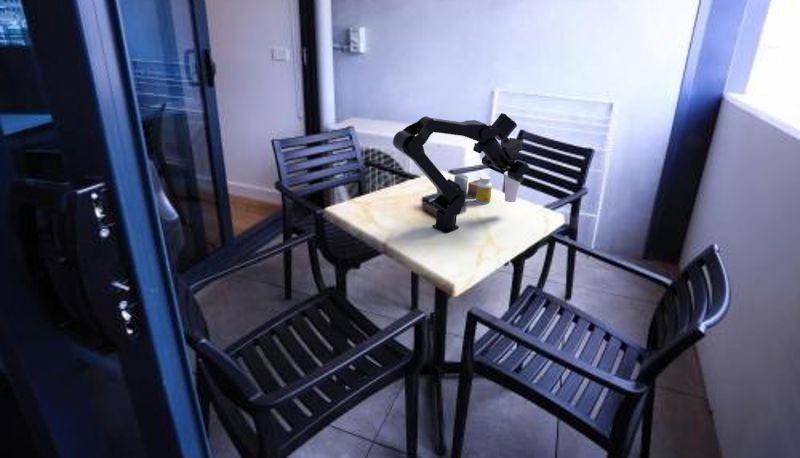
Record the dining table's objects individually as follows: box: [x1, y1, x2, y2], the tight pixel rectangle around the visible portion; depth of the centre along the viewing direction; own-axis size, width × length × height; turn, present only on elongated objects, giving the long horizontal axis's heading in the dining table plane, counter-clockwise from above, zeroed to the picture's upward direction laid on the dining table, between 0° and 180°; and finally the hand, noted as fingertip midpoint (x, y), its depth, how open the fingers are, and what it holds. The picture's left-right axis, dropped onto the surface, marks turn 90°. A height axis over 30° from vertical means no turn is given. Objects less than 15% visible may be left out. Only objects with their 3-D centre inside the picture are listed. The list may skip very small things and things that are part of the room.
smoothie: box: [503, 171, 521, 203], centre depth 161 cm, size 6×6×14 cm
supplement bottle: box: [475, 175, 493, 205], centre depth 176 cm, size 5×5×10 cm
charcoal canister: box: [453, 174, 469, 197], centre depth 180 cm, size 5×5×8 cm
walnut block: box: [466, 179, 480, 199], centre depth 183 cm, size 6×5×5 cm
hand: (515, 178), depth 162 cm, fingers closed on smoothie, 6 cm apart
